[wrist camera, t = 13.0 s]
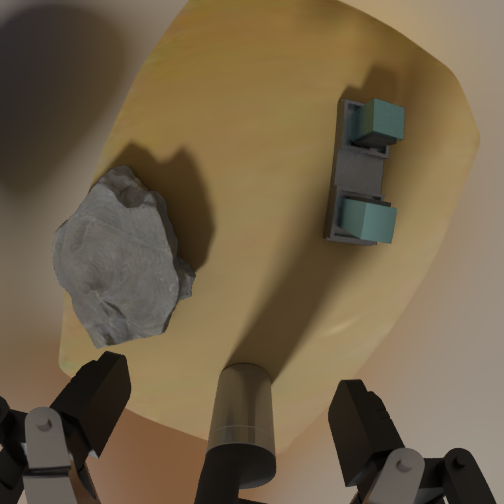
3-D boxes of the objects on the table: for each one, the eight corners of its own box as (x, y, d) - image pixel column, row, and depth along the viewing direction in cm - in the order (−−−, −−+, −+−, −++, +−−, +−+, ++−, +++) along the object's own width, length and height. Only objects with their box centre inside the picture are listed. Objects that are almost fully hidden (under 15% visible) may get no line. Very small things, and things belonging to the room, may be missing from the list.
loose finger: (370, 199, 35) (397, 204, 27) (365, 231, 36) (391, 243, 28) (344, 194, 35) (367, 198, 27) (339, 227, 36) (360, 239, 28)
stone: (86, 363, 35) (19, 220, 30) (107, 338, 43) (50, 213, 38) (213, 333, 33) (135, 142, 27) (220, 305, 41) (158, 149, 35)
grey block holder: (366, 243, 38) (397, 261, 28) (322, 237, 38) (344, 255, 28) (380, 113, 33) (414, 97, 24) (337, 102, 33) (362, 79, 24)
